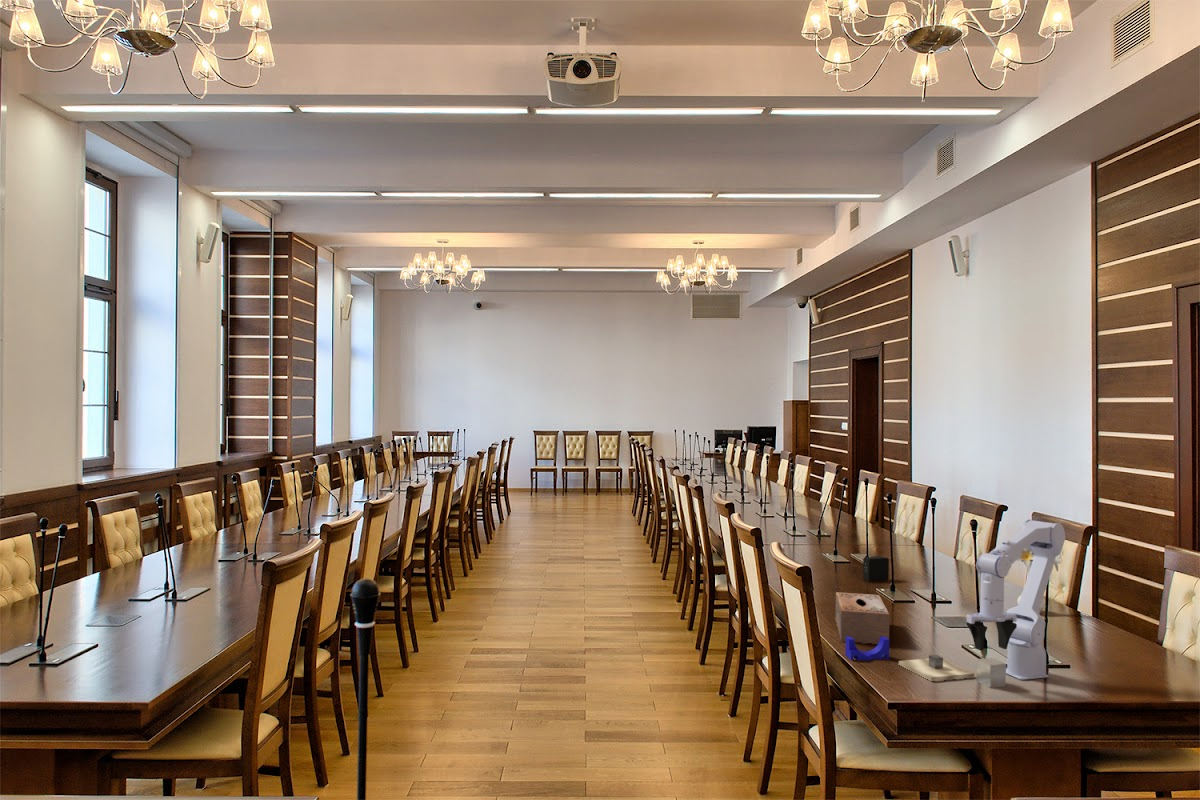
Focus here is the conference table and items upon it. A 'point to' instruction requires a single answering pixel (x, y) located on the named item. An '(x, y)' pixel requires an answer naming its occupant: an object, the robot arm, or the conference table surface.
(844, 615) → the tissue box cover
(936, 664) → the post
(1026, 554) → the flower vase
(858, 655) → the cable clip
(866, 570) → the electronic device
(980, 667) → the brushed grey cube
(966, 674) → the board
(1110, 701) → the conference table surface
